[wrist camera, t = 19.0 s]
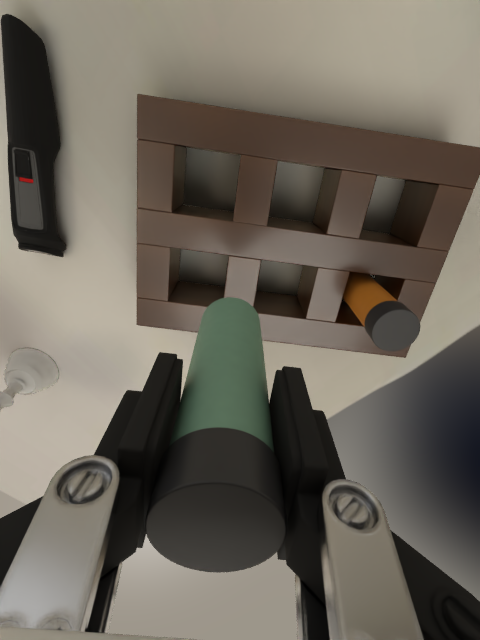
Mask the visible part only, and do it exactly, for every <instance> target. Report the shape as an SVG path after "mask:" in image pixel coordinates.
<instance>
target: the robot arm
mask: <svg viewBox="0 0 480 640" xmlns="http://www.w3.org/2000/svg"><path fill="white" fill-rule="evenodd" d="M182 367H183V359H177V354H170V353H161V352H160V353H159V354H158V356H157V359H156V361H155V363H154V365H153V368H152V370H151V372H150V375H149V377H148V379H147V382H146V384H145V386H144V388H143V391H142V392H141V391H132V390H128V391H126V393H125V394H124V396H123V398H122V400H121V402H120V404H119V406H118V408H117V410H116V412H115V414H114V416H113V418H112V420H111V422H110V424H109V426H108V428H107V430H106V432H105V434H104V436H103V438H102V440H101V442H100V444H99V446H98V448H97V450H96V452H95V454H94V455H91V456H84V457H80V458H77V459H74V460H73V461H71V462H69V463H67V464H65V465H64V466H63V467H62V468H61V469H60V470H58V471H57V472H56V474H55V475H54V477H53V478H52V480H51V481H50V484H49V486H48V488H47V490H46V492H45V494H44V496H43V497H41V498H39V499H37V500H35V501H33V502H31V503H29V504H27V505H25V506H23V507H21V508H20V509H18V510H16V511H14V512H12V513H10V514H8V515H6V516H4V517H2V518H0V640H194V639H181V638H167V637H153V636H138V635H123V634H108V631H109V627H110V621H111V617H112V612H113V607H114V602H115V597H116V592H117V587H118V583H119V578H120V573H121V568H122V562H123V561H124V560H125V559H126V558H128V557H129V556H131V555H132V554H133V553H135V552H136V548H137V547H138V548H142V546H143V543H144V539H145V535H146V529H145V519H146V514H147V511H148V507H149V503H150V499H151V496H152V492H153V489H154V485H155V482H156V478H157V474H158V471H159V467H160V463H161V460H162V457H163V455H164V453H165V451H166V450H167V449H168V447H169V444H170V440H171V436H172V432H173V429H174V425H175V421H176V417H177V413H178V409H179V405H180V398H181V382H182ZM269 408H270V417H271V426H272V435H273V445H274V454H275V455H276V457H277V459H278V462H279V465H280V471H281V479H282V487H283V495H284V503H285V511H286V519H287V533H286V537H285V540H284V542H283V544H282V546H281V547H280V549H279V550H278V551H277V554H278V559H280V560H286V562H287V565H288V566H289V567H290V568H291V569H292V570H293V572H294V573H295V574H296V575H295V588H296V589H295V590H296V615H297V640H480V602H479V601H478V600H477V599H476V598H475V597H474V596H473V595H472V594H471V593H469V592H468V591H467V590H466V589H464V588H463V587H462V586H461V585H459V584H458V583H457V582H455V581H454V580H453V579H452V578H450V577H449V576H448V575H447V574H445V573H444V572H443V571H442V570H440V569H439V568H438V567H436V566H435V565H434V564H433V563H431V562H430V561H429V560H427V559H426V558H425V557H424V556H422V555H421V554H420V553H419V552H417V551H416V550H415V549H414V548H412V547H411V546H410V545H408V544H407V543H406V542H405V541H404V540H402V539H401V538H400V537H399V536H397V535H396V534H395V533H393V532H392V531H391V530H390V527H389V524H388V521H387V517H386V514H385V511H384V509H383V507H382V505H381V503H380V501H379V500H378V499H377V497H376V496H375V495H374V494H373V493H371V491H369V490H368V489H367V488H366V487H364V486H362V485H361V484H359V483H357V482H354V481H351V480H346V478H345V475H344V472H343V469H342V466H341V463H340V460H339V457H338V454H337V451H336V447H335V444H334V441H333V438H332V435H331V432H330V429H329V426H328V423H327V420H326V417H325V414H324V412H323V411H319V410H313V409H312V406H311V402H310V399H309V395H308V392H307V388H306V385H305V381H304V377H303V374H302V370H301V368H294V367H286V366H284V367H283V368H282V370H277V371H276V374H275V379H274V383H273V388H272V393H271V398H270V403H269Z"/></svg>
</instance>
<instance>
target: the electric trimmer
mask: <svg viewBox="0 0 480 640" xmlns="http://www.w3.org/2000/svg"><path fill="white" fill-rule="evenodd" d="M1 30H2V47H3V63H4V79H5V96H6V112H7V131H8V171H9V187H10V204H11V220H12V227H13V233H14V236H15V237H16V239H17V240H18V242H19V243H18V247H19V249H21V250H25V251H31V252H38V253H43V254H48V255H54V256H59V257H63V252H61V251H64V250H66V245H65V243H64V242H63V241H62V240H61V239H60V237H59V235H58V233H57V221H56V206H55V190H54V175H53V163H54V161H55V158H56V155H57V153H58V151H59V149H60V136H59V128H58V122H57V116H56V110H55V103H54V97H53V91H52V85H51V79H50V73H49V67H48V61H47V55H46V49H45V45H44V43H43V41H42V39H41V38H40V37H39V36H38V35H37V34H36V33H35V32H34V31H33V30H32V29H30V28H29V27H28V26H27V25H26V24H25V23H24V22H23V21H21V20H20V19H18V18H16V17H14V16H12V15H9V14H5V15H2V18H1Z"/></svg>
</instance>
